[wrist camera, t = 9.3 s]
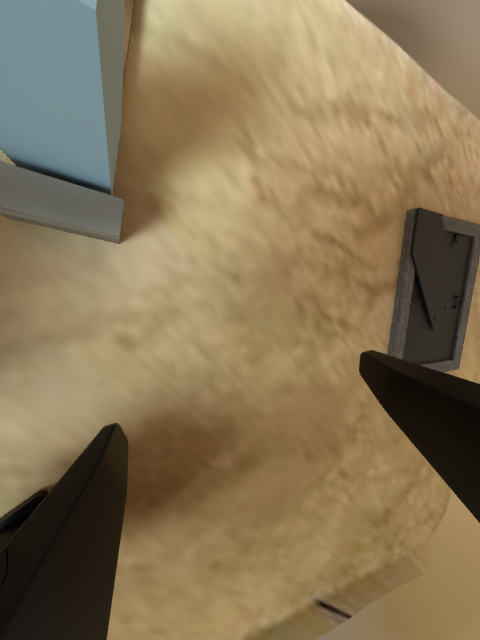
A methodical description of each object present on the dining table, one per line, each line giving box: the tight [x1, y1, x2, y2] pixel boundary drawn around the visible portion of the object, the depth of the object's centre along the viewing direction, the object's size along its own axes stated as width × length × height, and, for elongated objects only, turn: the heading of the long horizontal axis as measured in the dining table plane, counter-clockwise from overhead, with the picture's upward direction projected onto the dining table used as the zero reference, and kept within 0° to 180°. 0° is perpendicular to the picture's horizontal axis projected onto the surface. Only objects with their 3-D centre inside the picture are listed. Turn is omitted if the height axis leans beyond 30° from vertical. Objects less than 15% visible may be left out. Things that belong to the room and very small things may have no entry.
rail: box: [0, 0, 135, 244], centre depth 14 cm, size 18×6×4 cm, turn 170°
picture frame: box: [388, 208, 480, 372], centre depth 35 cm, size 16×2×21 cm
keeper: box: [0, 0, 125, 196], centre depth 9 cm, size 4×4×13 cm
